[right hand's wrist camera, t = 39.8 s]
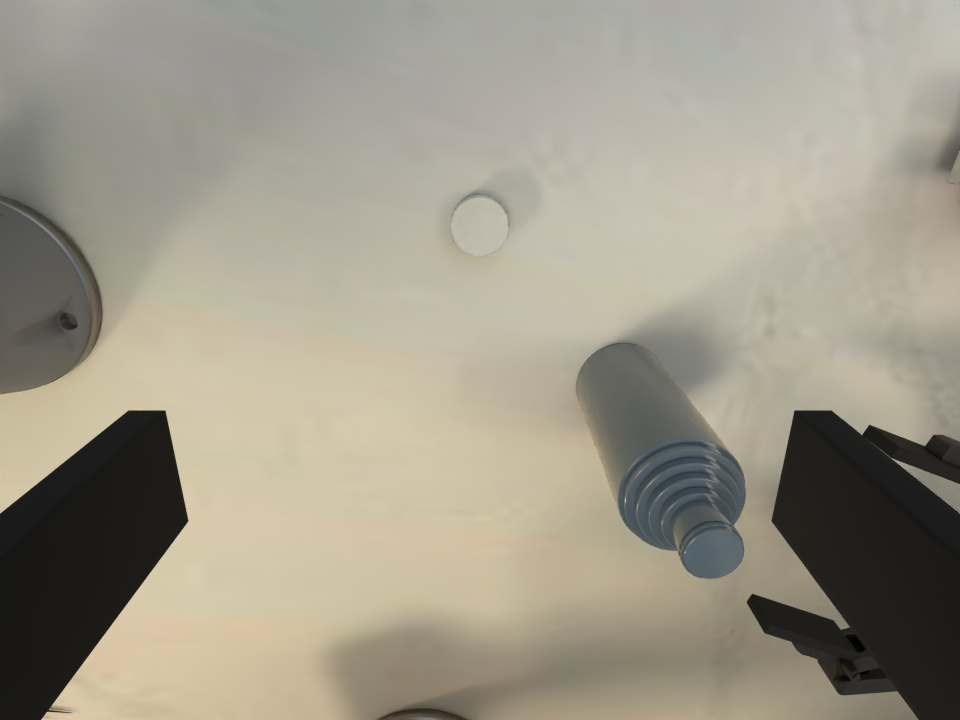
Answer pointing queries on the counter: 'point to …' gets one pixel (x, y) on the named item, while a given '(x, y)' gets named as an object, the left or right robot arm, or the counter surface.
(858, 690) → the left robot arm
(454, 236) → the cap
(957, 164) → the toy
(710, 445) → the bottle
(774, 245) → the counter surface
